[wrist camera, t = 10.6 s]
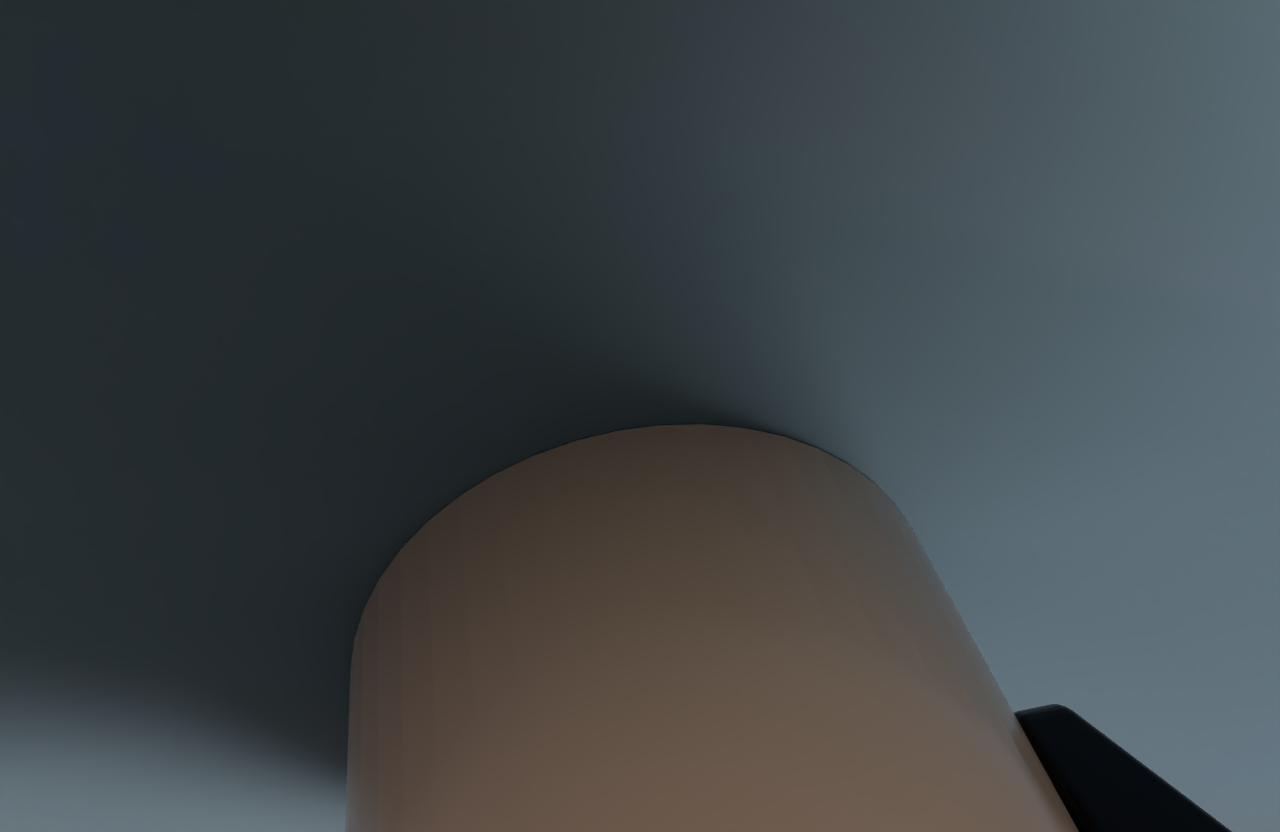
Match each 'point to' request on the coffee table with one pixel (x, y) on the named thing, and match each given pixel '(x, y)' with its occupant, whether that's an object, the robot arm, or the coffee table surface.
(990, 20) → the coffee table surface
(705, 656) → the cylinder
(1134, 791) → the robot arm
